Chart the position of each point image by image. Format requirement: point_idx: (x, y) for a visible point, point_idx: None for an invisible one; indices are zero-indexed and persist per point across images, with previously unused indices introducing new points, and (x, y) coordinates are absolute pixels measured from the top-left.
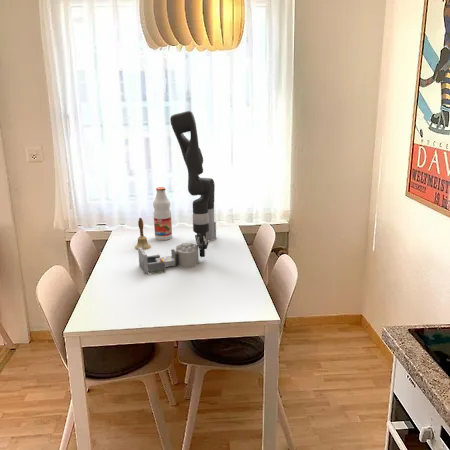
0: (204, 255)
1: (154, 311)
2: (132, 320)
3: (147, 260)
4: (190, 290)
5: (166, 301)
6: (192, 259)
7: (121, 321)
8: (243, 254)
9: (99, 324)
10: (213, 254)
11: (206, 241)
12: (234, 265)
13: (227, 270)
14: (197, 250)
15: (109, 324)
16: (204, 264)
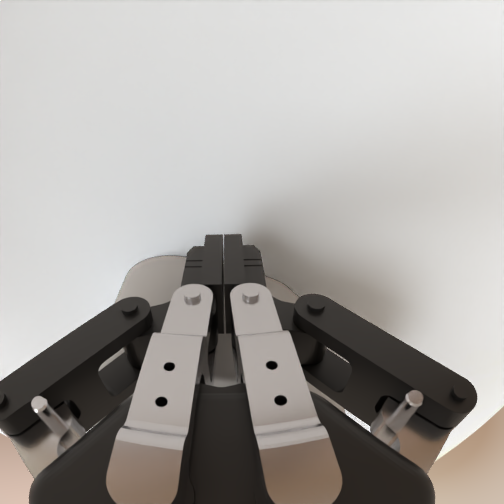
0: (258, 250)
1: (484, 408)
2: (472, 427)
3: None
4: (496, 354)
5: (480, 398)
6: None
7: (460, 437)
8: None
9: (440, 453)
10: (93, 80)
11: (459, 422)
12: (460, 42)
13: (499, 144)
14: (309, 383)
15: (452, 445)
16: (323, 243)
